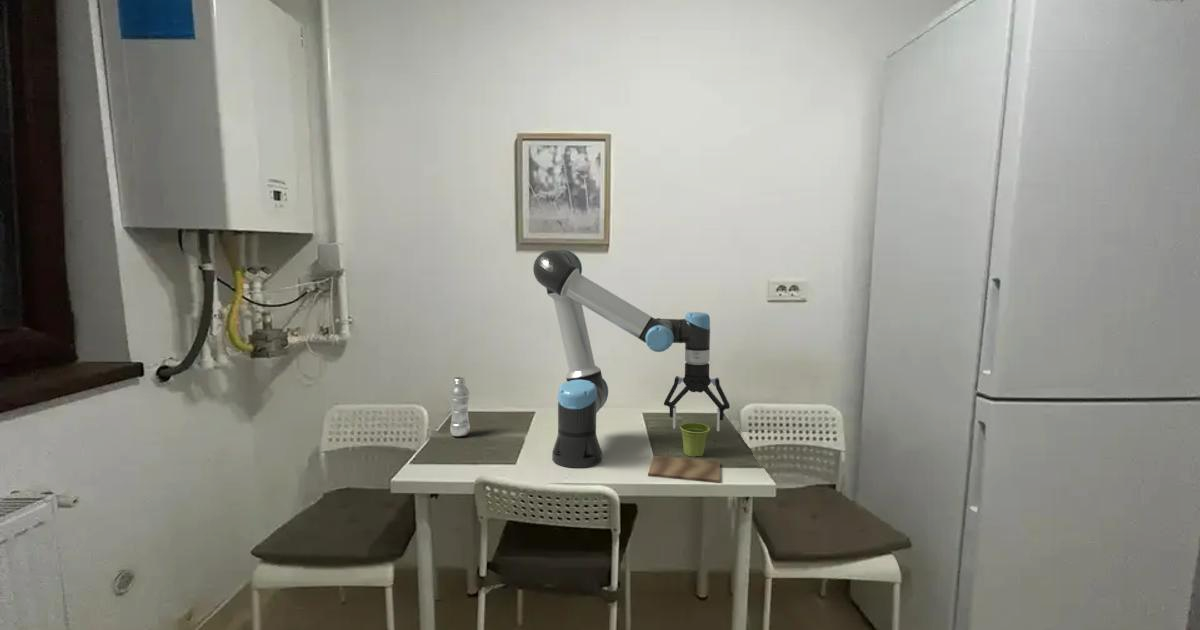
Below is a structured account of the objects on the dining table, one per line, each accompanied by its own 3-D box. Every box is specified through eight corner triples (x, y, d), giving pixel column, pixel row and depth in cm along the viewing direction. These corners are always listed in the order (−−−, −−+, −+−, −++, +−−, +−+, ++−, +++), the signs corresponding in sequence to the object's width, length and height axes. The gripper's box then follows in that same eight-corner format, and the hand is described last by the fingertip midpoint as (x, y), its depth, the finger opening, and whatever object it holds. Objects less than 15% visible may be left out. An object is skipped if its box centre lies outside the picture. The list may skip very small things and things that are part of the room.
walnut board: (647, 475, 163) (648, 473, 162) (653, 458, 176) (653, 455, 176) (719, 482, 158) (719, 480, 158) (719, 464, 172) (719, 461, 172)
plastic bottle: (446, 437, 192) (445, 379, 190) (457, 431, 199) (456, 375, 196) (463, 439, 191) (462, 381, 188) (473, 433, 197) (472, 376, 195)
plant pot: (713, 452, 182) (714, 425, 181) (702, 461, 174) (703, 434, 173) (685, 446, 187) (686, 420, 186) (674, 455, 179) (675, 428, 178)
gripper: (655, 363, 176) (655, 429, 178) (738, 366, 171) (737, 434, 173) (658, 358, 183) (657, 422, 186) (738, 361, 178) (736, 427, 180)
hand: (696, 428), depth 179 cm, fingers open, 13 cm apart
